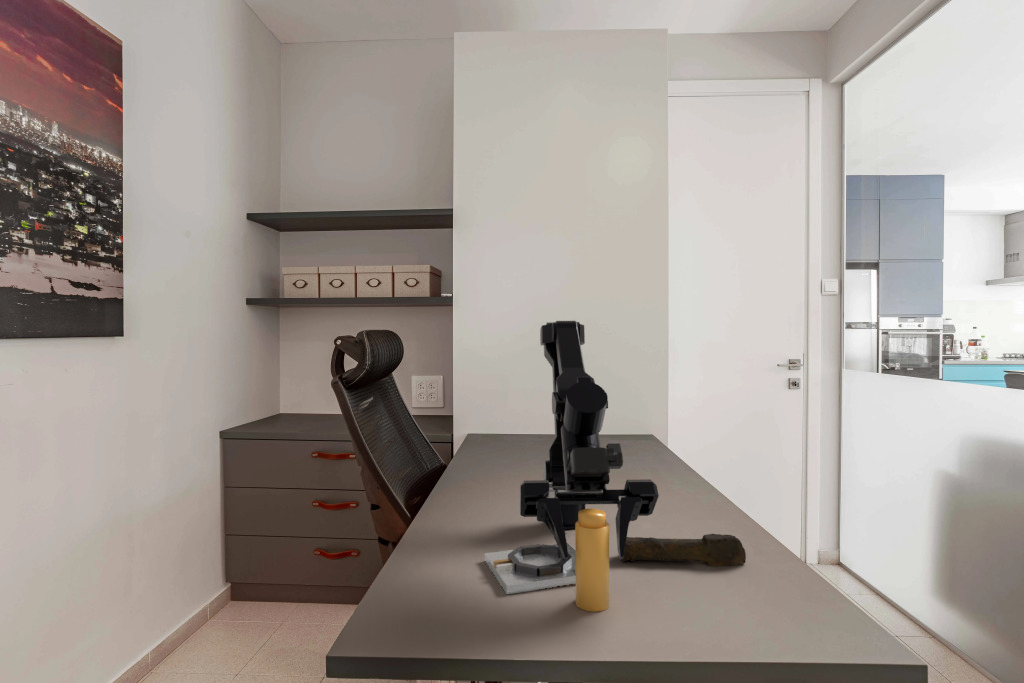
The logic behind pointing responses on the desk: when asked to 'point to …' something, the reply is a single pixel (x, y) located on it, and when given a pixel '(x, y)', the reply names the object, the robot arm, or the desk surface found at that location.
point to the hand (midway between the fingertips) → (593, 557)
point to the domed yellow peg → (592, 560)
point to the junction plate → (532, 567)
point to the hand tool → (687, 550)
